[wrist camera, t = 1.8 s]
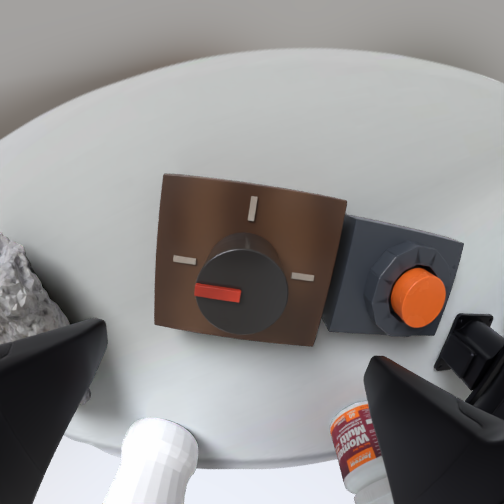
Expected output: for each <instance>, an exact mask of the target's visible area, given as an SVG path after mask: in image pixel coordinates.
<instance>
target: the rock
mask: <svg viewBox="0 0 504 504" xmlns="http://www.w3.org/2000/svg"><path fill="white" fill-rule="evenodd" d="M25 254H26V253H25V250H24V247H23V245H19V244H18V243H16V242H15V241H10V240H9V239H8V238H7V237H3V235H2V233H1V232H0V344H4V343H8V342H13V341H15V340H19V339H22V338H26V337H29V336H33V335H36V334H40V333H43V332H47V331H50V330H53V329H57V328H60V327H64V326H67V325H70V323H69V321H68V319H67V317H66V316H65V314H64V313H63V312H62V311H61V309H60V307H59V306H58V304H56V303H55V302H53V301H52V300H51V299H50V298H49V296H48V294H47V292H46V291H45V289H44V288H42V284H41V281H40V280H39V279H38V277H37V275H36V274H35V273H34V271H33V270H32V268H31V265H30V262H29V260H28V259H27V258H26V256H25ZM90 397H91V392H90V389H89V388H88V390H87V391H86V393H85V395H84V397H83V399H82V400H81V402H80V404H79V405H83V404H84V403H85V402H87V401H88V400H89V399H90Z"/></svg>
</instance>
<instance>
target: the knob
mask: <svg viewBox="0 0 504 504" xmlns="http://www.w3.org/2000/svg"><path fill="white" fill-rule="evenodd" d="M194 296H195V297H196V301H197V305H198V307H199V309H200V311H201V313H202V314H203V316H204V317H205V318H206V319H207V320H208V321H209V322H210V323H211V324H212V325H214V326H215V327H217V328H218V329H220V330H222V331H225V332H228V333H232V334H239V335H247V334H253V333H257V332H260V331H262V330H265V329H266V328H268V327H270V326H271V325H272V324H274V323H275V322H276V321H277V320H278V319H279V317H280V316H281V315H282V313H283V311H284V309H285V307H286V305H287V301H288V283H287V280H286V277H285V274H284V271H283V268H282V265H281V262H280V259H279V256H278V254H277V251H276V250H275V248H274V247H273V246H272V245H271V244H270V243H269V242H268V241H267V240H266V239H264V238H263V237H261V236H259V235H256V234H252V233H245V232H243V233H235V234H231V235H229V236H227V237H225V238H223V239H222V240H220V241H219V242H218V243H217V244H216V245H215V246H214V248H213V249H212V250H211V252H210V254H209V256H208V258H207V260H206V261H205V263H204V265H203V267H202V269H201V270H200V272H199V275H198V277H197V280H196V285H195V292H194Z"/></svg>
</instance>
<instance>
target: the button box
mask: <svg viewBox="0 0 504 504" xmlns="http://www.w3.org/2000/svg"><path fill="white" fill-rule="evenodd" d="M463 246H464V243H462V242H459V241H456V240H454V239H451V238H449V237H445V236H441V235H437V234H433V233H429V232H425V231H421V230H417V229H413V228H408V227H404V226H400V225H395V224H391V223H386V222H381V221H377V220H372V219H367V218H362V217H357V216H353V215H347V214H345V217H344V222H343V227H342V232H341V237H340V242H339V247H338V251H337V256H336V260H335V265H334V269H333V273H332V278H331V282H330V286H329V290H328V294H327V298H326V302H325V305H324V309H323V313H322V318H323V320H324V322H325V325H326V327H327V329H328V331H329V332H343V333H360V334H381V335H389V336H400V337H409V336H412V335H426V336H434V335H435V333H436V330H437V328H438V325H439V322H440V320H441V317H442V315H443V312H444V309H445V306H446V304H447V301H448V298H449V295H450V292H451V289H452V286H453V282H454V279H455V276H456V272H457V269H458V265H459V262H460V258H461V254H462V250H463ZM414 268H422V269H425V270H426V271H428V272H430V273H431V274H433V275H435V276H436V277H438V278H439V279H440V280H441V281H442V282H443V284H444V286H445V291H446V297H445V302H444V305H443V308H442V310H441V311H440V313H439V314H438V316H437V317H436V318H435V319H434V320H433V321H432V322H431V323H429V324H428V325H426V326H423V327H419V328H414V327H410V326H408V325H407V324H406V323H405V322H404V321H403V320H402V319H401V318H400V317H399V316H398V315H397V314H396V313H395V312H394V310H393V308H392V305H391V293H392V290H393V287H394V285H395V283H396V282H397V280H398V279H399V278H400V276H401V275H403V274H404V273H405V272H407V271H408V270H411V269H414Z"/></svg>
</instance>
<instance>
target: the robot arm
mask: <svg viewBox="0 0 504 504" xmlns="http://www.w3.org/2000/svg"><path fill="white" fill-rule="evenodd" d="M492 321H493V316H492V315H490V314H463V313H460V314H458V315H457V316H456V318H455V321H454V323H453V326H452V328H451V331H450V333H449V335H448V338H447V340H446V342H445V345H444V347H443V349H442V351H441V353H440V355H439V358H438V360H437V362H436V364H435V366H434V368H435V369H436V370H437V371H441V370H450V369H452V370H453V371H454V372H455V374H456V375H457V376H458V377H459V378H460V379H462V381H463V382H464V383H465V384H466V385H467V386H468V387H469V389H470V390H473V392H472V393H471V394H470V395H469V397H468V398H467V399H466V401H463V400H461V399H459V398H456V397H455V396H454V395H452V394H450V393H448V392H446V391H445V390H443V389H441V388H439V387H437V386H436V385H434V384H432V383H430V382H428V381H427V380H425V379H423V378H421V377H420V376H418V375H416V374H414V373H413V372H411V371H409V370H407V369H406V368H404V367H402V366H400V365H399V364H397V363H395V362H393V361H392V360H390V359H388V358H387V357H385V356H373V357H372V358H371V360H370V362H369V365H368V367H367V369H366V372H365V374H364V385H365V390H366V395H367V401H368V406H369V411H370V416H371V420H372V423H373V427H374V430H375V433H376V437H377V440H378V444H379V447H380V451H381V455H382V458H383V462H384V466H385V470H386V473H387V477H388V481H389V485H390V490H391V494H392V498H393V502H394V504H504V338H503V337H502V336H501V335H499V334H498V333H497V332H496V331H494V330H493V329H492V328H490V326H491V323H492ZM107 344H108V339H107V330H106V323H105V321H104V320H102V319H98V318H91V319H87V320H84V321H81V322H77V323H74V324H71V325H67V326H64V327H60V328H57V329H53V330H50V331H47V332H43V333H40V334H36V335H33V336H29V337H26V338H22V339H19V340H15V341H13V342H8V343H4V344H0V504H33V501H34V499H35V496H36V494H37V491H38V489H39V487H40V484H41V482H42V480H43V477H44V476H43V475H45V472H46V470H47V468H48V466H49V464H50V462H51V459H52V457H53V455H54V453H55V451H56V449H57V447H58V445H59V443H60V441H61V439H62V436H63V435H64V433H65V431H66V429H67V427H68V425H69V423H70V421H71V419H72V417H73V415H74V413H75V412H76V410H77V408H78V406H79V404H80V402H81V400H82V399H83V397H84V395H85V393H86V391H87V390H88V388H89V386H90V384H91V382H92V380H93V378H94V376H95V374H96V371H97V369H98V367H99V364H100V362H101V360H102V357H103V355H104V353H105V350H106V348H107Z"/></svg>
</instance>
